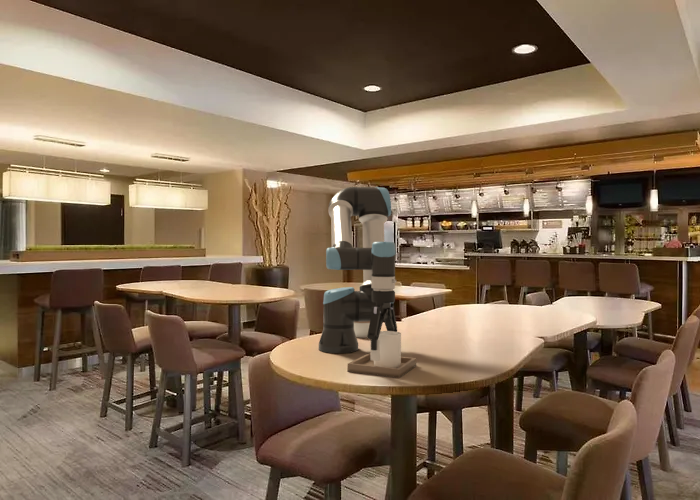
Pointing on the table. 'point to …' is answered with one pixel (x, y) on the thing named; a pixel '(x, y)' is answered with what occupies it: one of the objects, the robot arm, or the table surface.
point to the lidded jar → (361, 329)
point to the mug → (389, 349)
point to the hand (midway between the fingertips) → (382, 356)
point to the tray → (367, 367)
